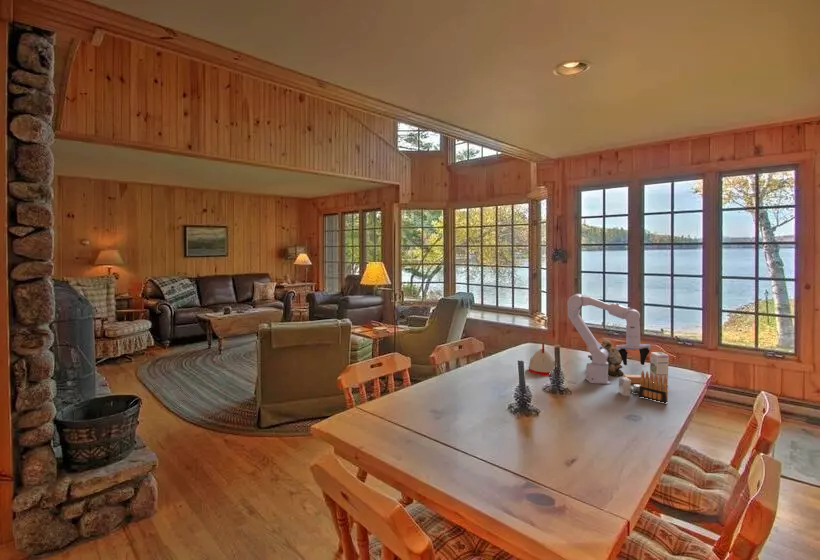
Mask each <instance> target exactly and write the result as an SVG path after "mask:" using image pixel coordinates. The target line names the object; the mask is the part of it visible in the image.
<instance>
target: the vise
mask: <svg viewBox="0 0 820 560" xmlns="http://www.w3.org/2000/svg"><path fill="white" fill-rule="evenodd" d="M639 389H640V384H639V383H631V388H630V391H631V392H630V393H632V392H633V393H638V394H637V395H639ZM633 393H632V394H633Z"/></svg>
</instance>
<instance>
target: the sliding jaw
mask: <svg viewBox="0 0 820 560" xmlns="http://www.w3.org/2000/svg"><path fill="white" fill-rule="evenodd" d="M645 376H646V374H644V380H645ZM622 377H627V378H628V379H629V380H631V383H639V384H640V380H641V374H624V375H623V376H622ZM649 381H650V377H649Z"/></svg>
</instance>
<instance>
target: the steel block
mask: <svg viewBox="0 0 820 560" xmlns="http://www.w3.org/2000/svg"><path fill="white" fill-rule="evenodd" d="M630 388H631V380H629V379H628V378H627V377H623V376H619V377H618V393H619V392H620V393H621V394H622V395H630V396H631V392H630ZM620 393H619V394H620ZM621 394H620V395H621ZM622 395H621V396H622Z"/></svg>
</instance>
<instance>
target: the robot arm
mask: <svg viewBox="0 0 820 560" xmlns="http://www.w3.org/2000/svg"><path fill="white" fill-rule="evenodd" d="M566 304H567V318H568V319H569V320H570V322H571V323H572V325H573V326H574V328H575V330H576V331H577V332H578V334H579V335H580V337H581V339H582V340H583V341H584V344H585V345H586V347H587V348H588V350H589V353H590V355H592V360H593V361H592V360H591V362H588V363H586V366H585V379H586V380H587V381H588V382H589V383H590V384H608V385H609V384H610V385H611V384H612V383H611V381H609V376H608V362H607V360H606V359H607V358H608V356H609V353H608V351H607V350H606V349H605V348H603V347H602V346H601V344H602V343H601V342H600V343H601V344H600V343H598V342H599V341H598V340H597V339H596V337H595V336H594V335H593V333H592V331H591V330H590V329H589V326H588V325H587V324H586V323H585V320H583V318H582V315H580V313H581V309H582V307H586V306H592V307H596V308H599V309H602V310H604V311H607V312H608V314H609V315H611V316H613V317H616V318H619V319H621V320H625V321H626V325H625V330H626V331H625V339H626V343H625V344H616V345H615V348H616V349H617V350H618V351H619V353H620V355H621V357H622V363H623V365H624V366H627V365H628V359H627V358H628V351H627V350H639V354H640V355H639V356H640V357H639V359H640V365H642V366H644V365H645V363H646V360H647V357H648V355H649V353H650V350H651V349H652V347H651V346H652V345H651V344H649V343H641V326H640V324H641V322H640V318H641V313H640V311H639V310H637V309H635V308H631V307H629V306H628V307H626V306H623V305H621V304H620V303H619V302H612V303H607V302H604V301H602V300H599V299H597V298H595V297H592V296H589V295H587V294H582V293H579V292H578V293H575V294H572V295H571V296H569V298H568V300H567V303H566Z"/></svg>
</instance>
